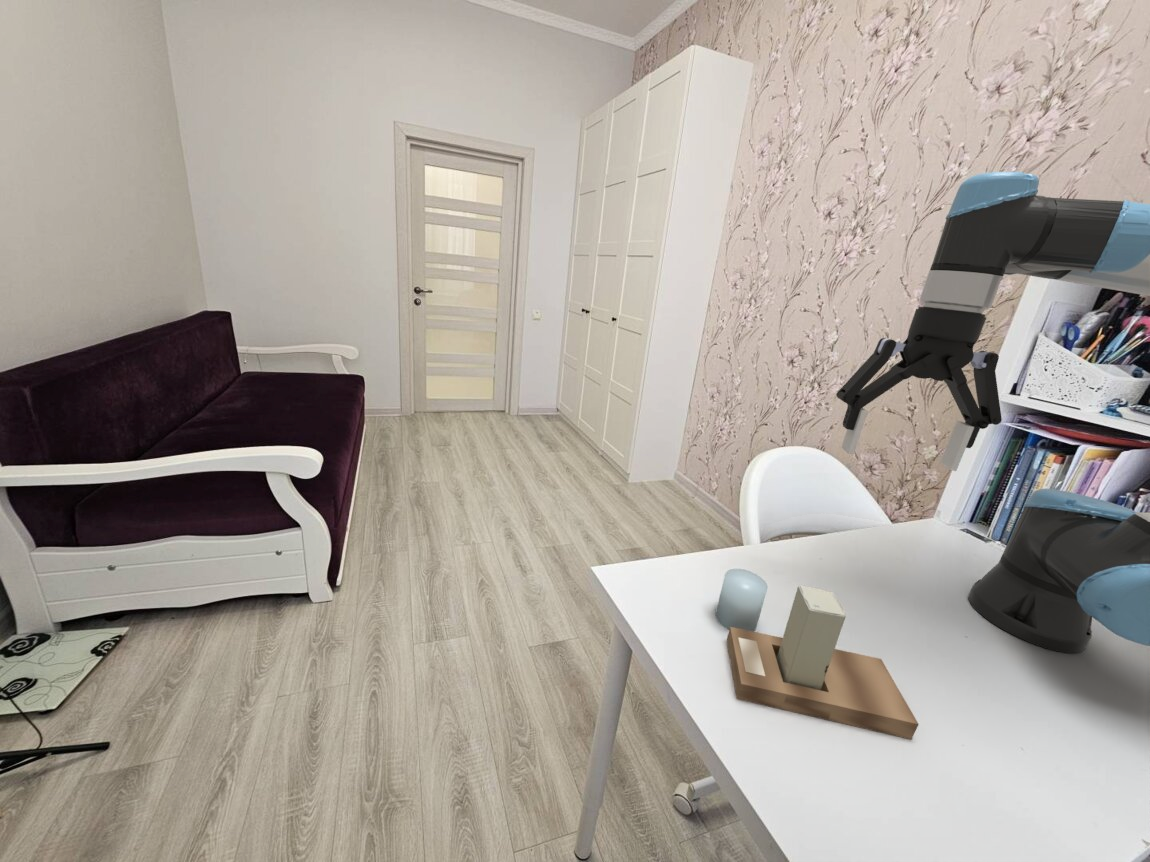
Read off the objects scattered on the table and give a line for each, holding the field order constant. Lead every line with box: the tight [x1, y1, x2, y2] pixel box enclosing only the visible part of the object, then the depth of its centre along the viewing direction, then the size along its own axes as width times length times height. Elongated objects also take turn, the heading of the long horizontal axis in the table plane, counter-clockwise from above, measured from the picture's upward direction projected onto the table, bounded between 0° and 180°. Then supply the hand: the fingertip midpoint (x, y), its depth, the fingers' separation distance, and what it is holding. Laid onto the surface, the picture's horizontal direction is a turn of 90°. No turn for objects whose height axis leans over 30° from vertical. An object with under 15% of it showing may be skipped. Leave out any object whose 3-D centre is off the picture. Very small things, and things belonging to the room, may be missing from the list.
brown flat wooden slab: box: [726, 627, 920, 740], centre depth 61 cm, size 20×10×2 cm, turn 80°
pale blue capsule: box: [715, 568, 769, 632], centre depth 70 cm, size 6×6×7 cm
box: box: [776, 584, 846, 690], centre depth 59 cm, size 5×4×13 cm
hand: (896, 459), depth 68 cm, fingers open, 13 cm apart
